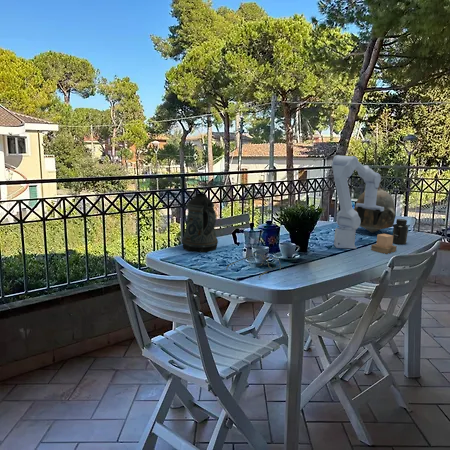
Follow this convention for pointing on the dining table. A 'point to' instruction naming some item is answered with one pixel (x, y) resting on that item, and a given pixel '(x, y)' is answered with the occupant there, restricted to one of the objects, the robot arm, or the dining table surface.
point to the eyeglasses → (261, 264)
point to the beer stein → (200, 225)
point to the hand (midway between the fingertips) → (368, 223)
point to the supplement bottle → (400, 232)
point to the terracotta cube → (384, 240)
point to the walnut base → (383, 249)
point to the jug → (386, 217)
